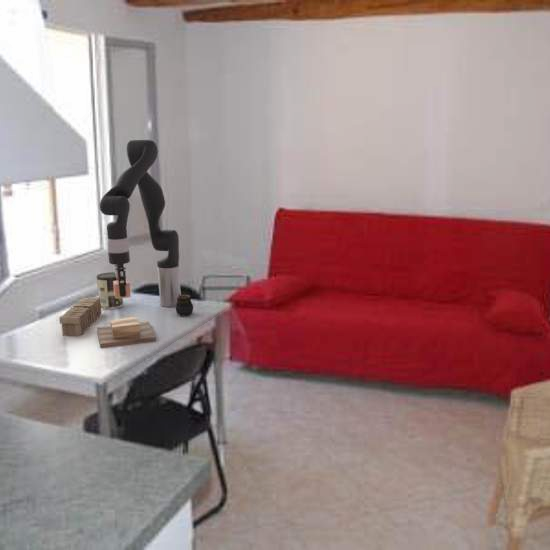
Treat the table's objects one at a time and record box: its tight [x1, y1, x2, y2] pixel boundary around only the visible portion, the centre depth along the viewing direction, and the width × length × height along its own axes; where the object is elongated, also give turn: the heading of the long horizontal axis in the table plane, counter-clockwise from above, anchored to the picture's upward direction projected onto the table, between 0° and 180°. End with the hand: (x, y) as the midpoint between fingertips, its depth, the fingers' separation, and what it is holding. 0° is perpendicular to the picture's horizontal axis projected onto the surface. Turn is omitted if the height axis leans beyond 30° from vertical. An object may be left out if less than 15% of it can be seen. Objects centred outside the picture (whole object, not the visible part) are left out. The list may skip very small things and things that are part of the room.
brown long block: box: [59, 296, 102, 337], centre depth 264 cm, size 8×8×29 cm
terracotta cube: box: [113, 279, 132, 299], centre depth 246 cm, size 6×6×6 cm
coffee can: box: [96, 271, 124, 310], centre depth 289 cm, size 10×10×14 cm
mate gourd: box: [175, 294, 194, 317], centre depth 273 cm, size 7×8×10 cm
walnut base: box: [96, 316, 157, 349], centre depth 250 cm, size 20×20×6 cm
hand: (122, 294), depth 246 cm, fingers closed on terracotta cube, 5 cm apart
